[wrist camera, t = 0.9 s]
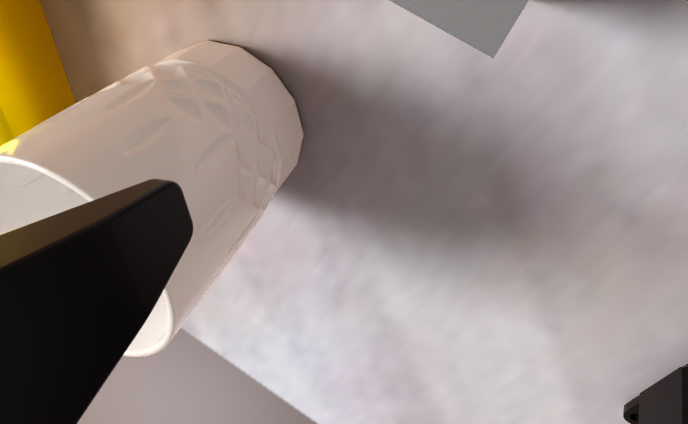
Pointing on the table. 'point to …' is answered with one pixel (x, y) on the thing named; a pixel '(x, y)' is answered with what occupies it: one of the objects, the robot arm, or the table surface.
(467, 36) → the dock
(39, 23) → the element tile
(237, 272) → the table surface
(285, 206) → the table surface
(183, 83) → the white cup
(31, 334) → the robot arm
